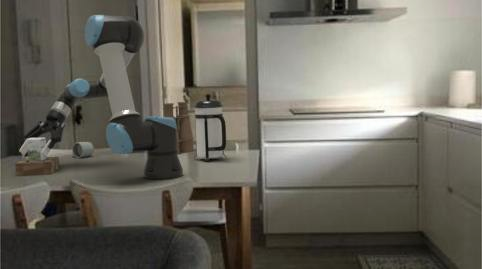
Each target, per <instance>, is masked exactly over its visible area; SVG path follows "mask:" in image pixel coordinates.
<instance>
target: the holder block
mask: <svg viewBox="0 0 482 269" xmlns="http://www.w3.org/2000/svg"><path fill="white" fill-rule="evenodd" d="M14 166H15V176H19V177H23V176H41V175H53V174H54V173H55V172H57V171H58V170H59V169H60V161H59V156H49V157H48V156H47V160H46V161H40V162H29V159H28V158H25V159H23V160H22V159H21V160H19V161H18V162H16V163H15V165H14Z"/></svg>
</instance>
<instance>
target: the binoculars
mask: <svg viewBox="0 0 482 269" xmlns="http://www.w3.org/2000/svg"><path fill="white" fill-rule="evenodd" d="M188 103H189V102H188V101H177V105H175V106H174V104H175V103H174V102H168V103H167V102H165V103H162V105H163V107H162V109H163V117H167V118H173V119H175V121H176V127H177V154H178V155H180V154H181V153H190V152H193V151H194V139H195V138H194V137H193V131H192V126H191V119H190V116H191V115H190V114H188V108H189V106H188ZM174 109H175V116H174Z"/></svg>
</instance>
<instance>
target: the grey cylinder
mask: <svg viewBox="0 0 482 269" xmlns="http://www.w3.org/2000/svg"><path fill="white" fill-rule="evenodd" d="M94 146H95V145H94V144H93V143H92V142H90V141H77V142H75V143H73V146H72V148H71V150H72V153H71V154H72V156H73V157H74V158H76V159H81V158H86V157H87V158H88V157H91V156H92V155H93V154H94V152H95V147H94Z"/></svg>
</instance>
